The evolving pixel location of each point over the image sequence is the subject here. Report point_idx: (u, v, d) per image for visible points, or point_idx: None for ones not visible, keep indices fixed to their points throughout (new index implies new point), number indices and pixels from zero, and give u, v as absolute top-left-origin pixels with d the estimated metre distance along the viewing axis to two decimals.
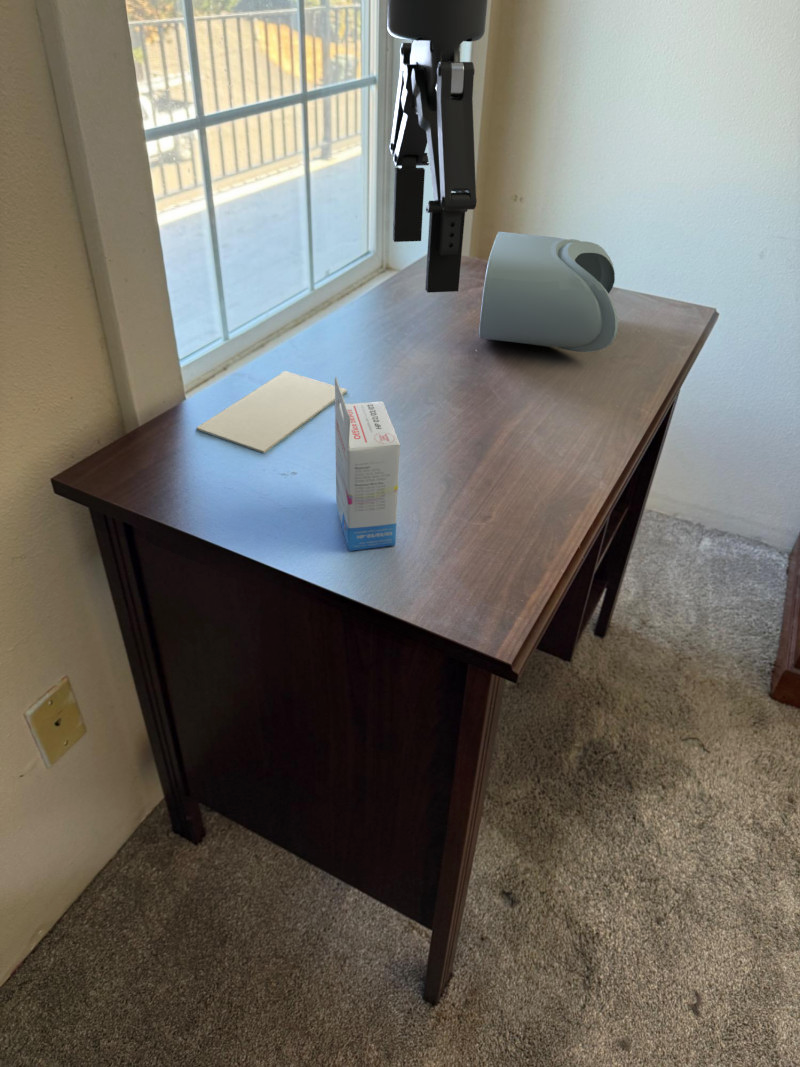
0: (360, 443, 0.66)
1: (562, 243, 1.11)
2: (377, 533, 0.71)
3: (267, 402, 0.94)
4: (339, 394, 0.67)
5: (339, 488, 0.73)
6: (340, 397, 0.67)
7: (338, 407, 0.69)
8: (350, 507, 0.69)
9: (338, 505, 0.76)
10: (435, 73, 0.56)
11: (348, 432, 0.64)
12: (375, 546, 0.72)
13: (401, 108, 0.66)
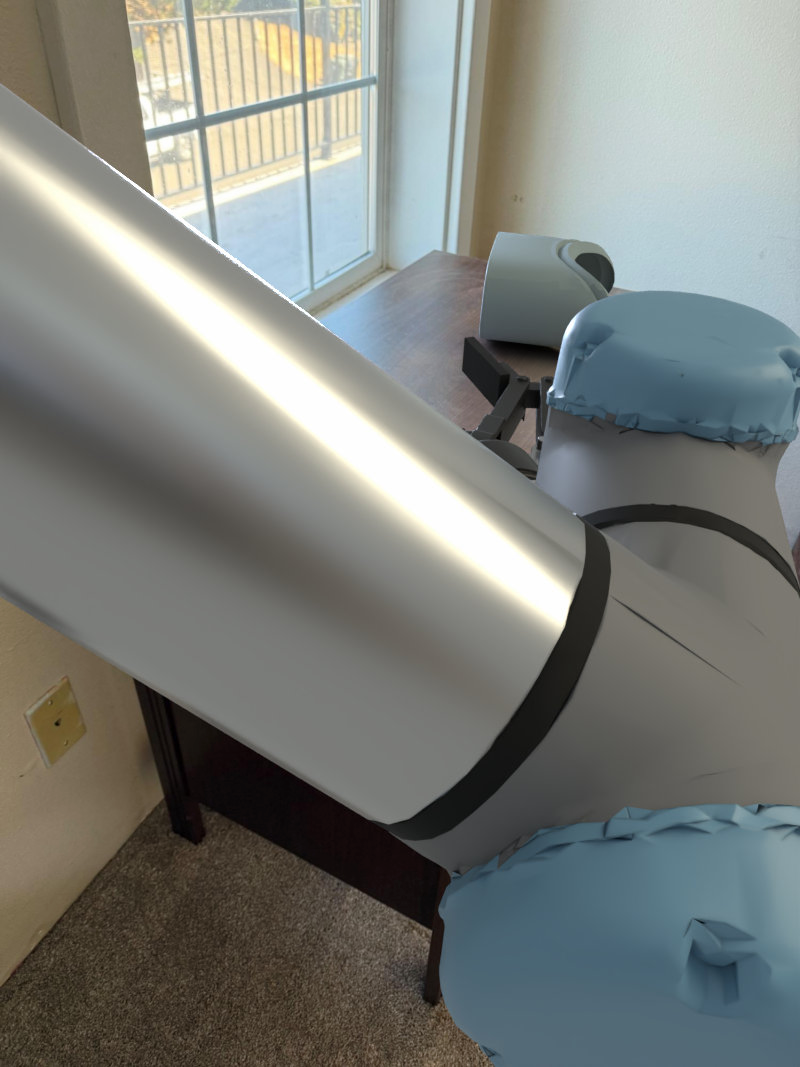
0: None
1: (562, 243, 1.11)
2: None
3: None
4: None
5: None
6: None
7: None
8: None
9: None
10: None
11: None
12: None
13: (540, 413, 0.48)
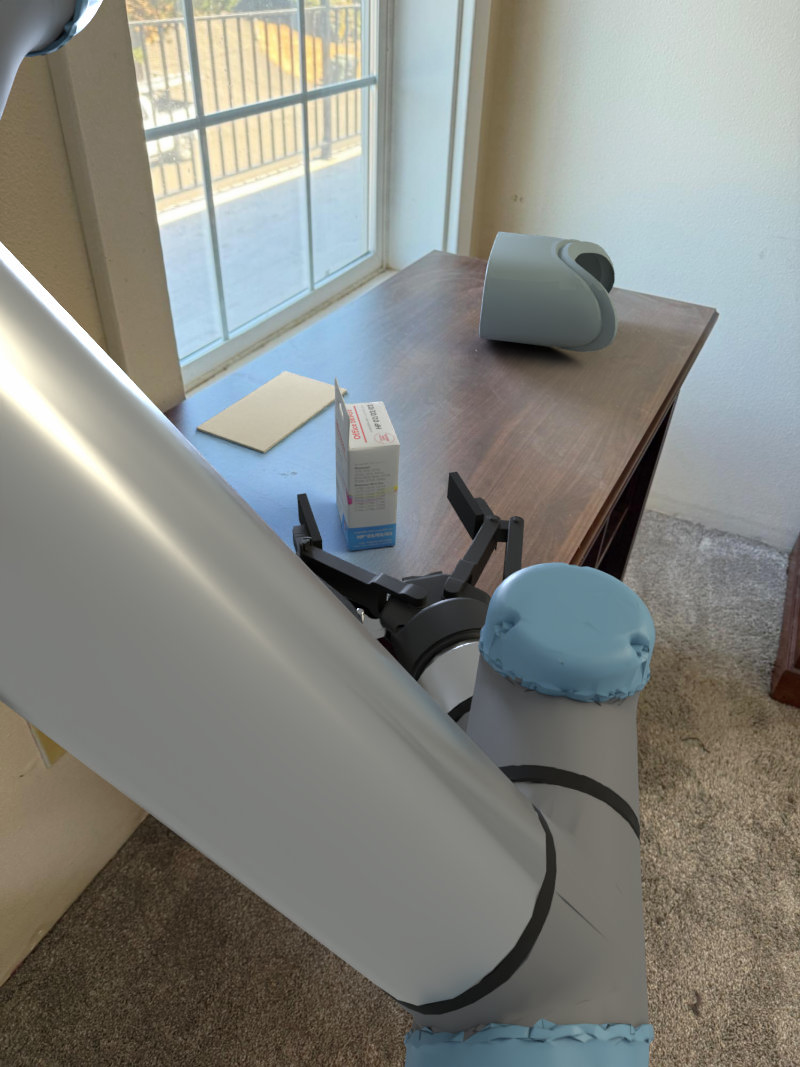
0: (360, 443, 0.66)
1: (562, 243, 1.11)
2: (377, 533, 0.71)
3: (267, 402, 0.94)
4: (339, 394, 0.67)
5: (339, 488, 0.73)
6: (340, 397, 0.67)
7: (338, 407, 0.69)
8: (350, 507, 0.69)
9: (338, 505, 0.76)
10: (382, 616, 0.52)
11: (348, 432, 0.64)
12: (375, 546, 0.72)
13: (506, 555, 0.58)
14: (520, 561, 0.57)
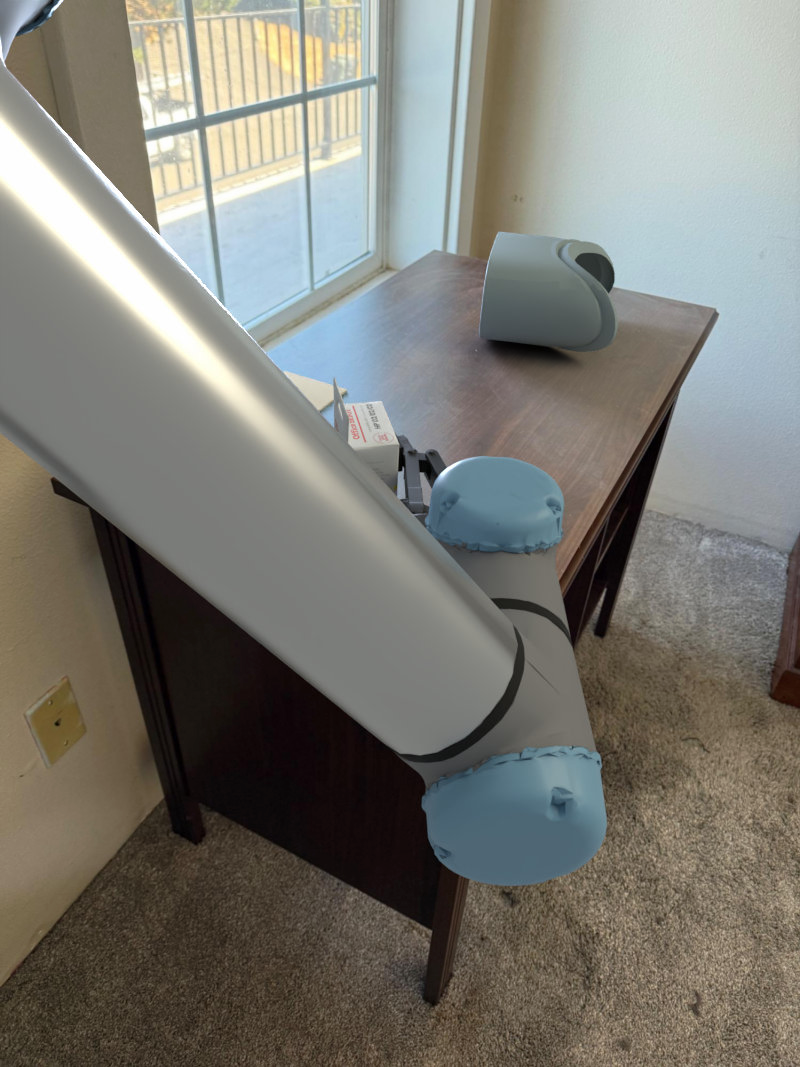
0: (359, 443, 0.66)
1: (562, 243, 1.11)
2: None
3: None
4: (338, 394, 0.67)
5: None
6: (339, 397, 0.67)
7: (337, 407, 0.69)
8: None
9: None
10: None
11: (347, 432, 0.64)
12: None
13: None
14: None
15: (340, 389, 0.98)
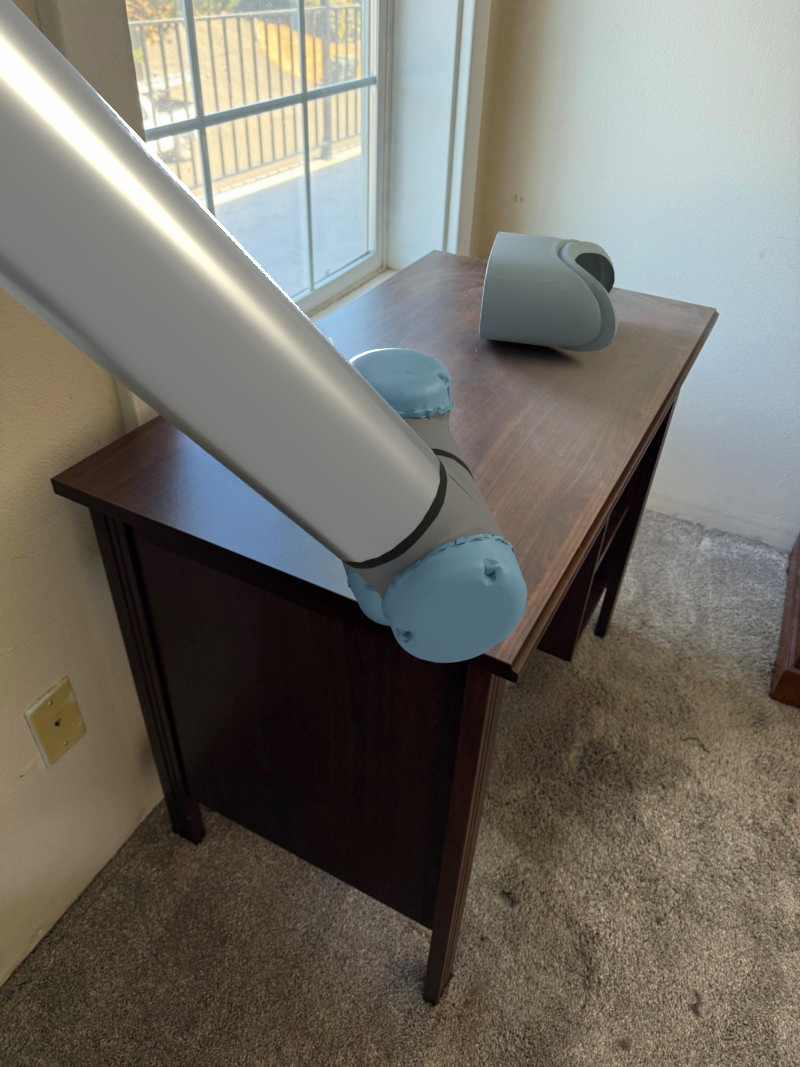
0: None
1: (562, 243, 1.11)
2: None
3: None
4: None
5: None
6: None
7: None
8: None
9: None
10: None
11: None
12: None
13: None
14: None
15: None
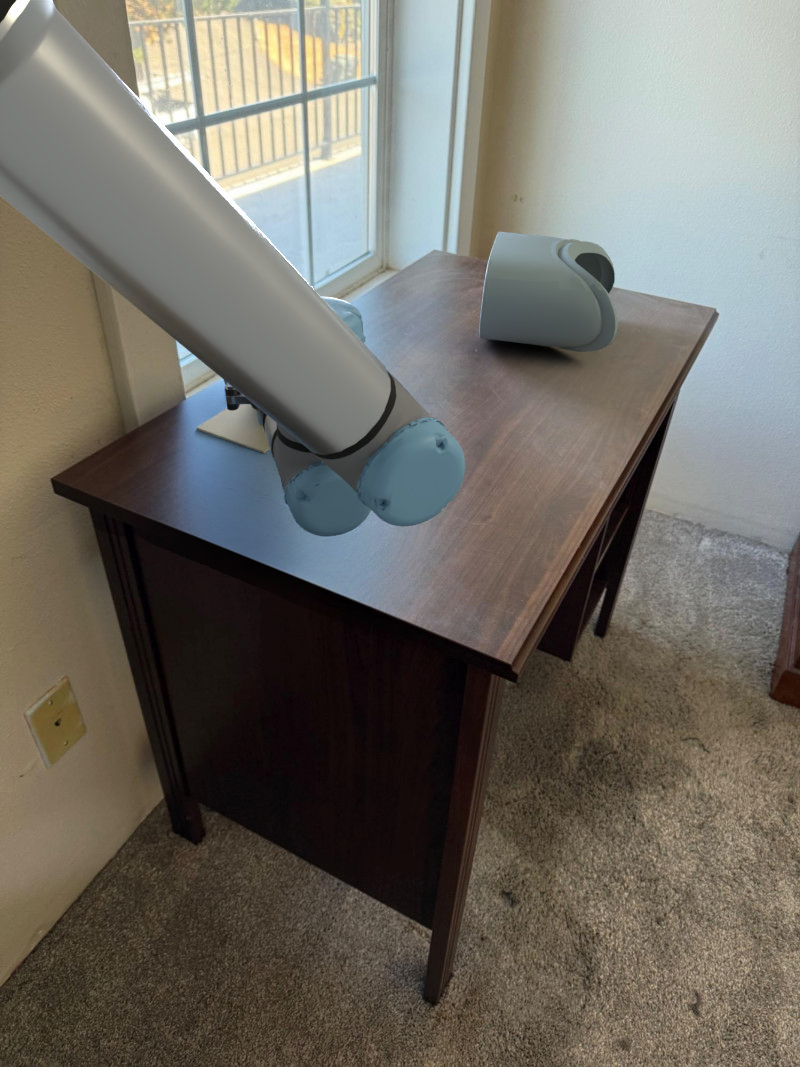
0: None
1: (562, 243, 1.11)
2: None
3: None
4: None
5: None
6: None
7: None
8: None
9: None
10: None
11: None
12: None
13: None
14: None
15: None
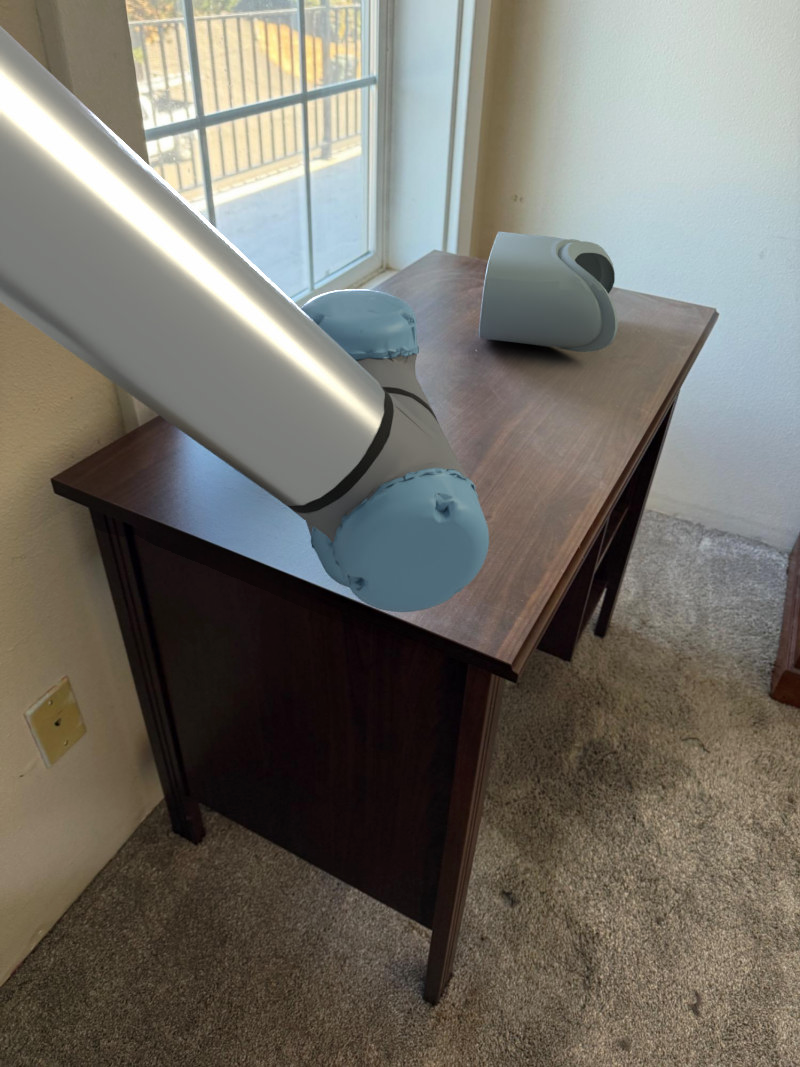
0: None
1: (562, 243, 1.11)
2: None
3: None
4: None
5: None
6: None
7: None
8: None
9: None
10: None
11: None
12: None
13: None
14: None
15: None
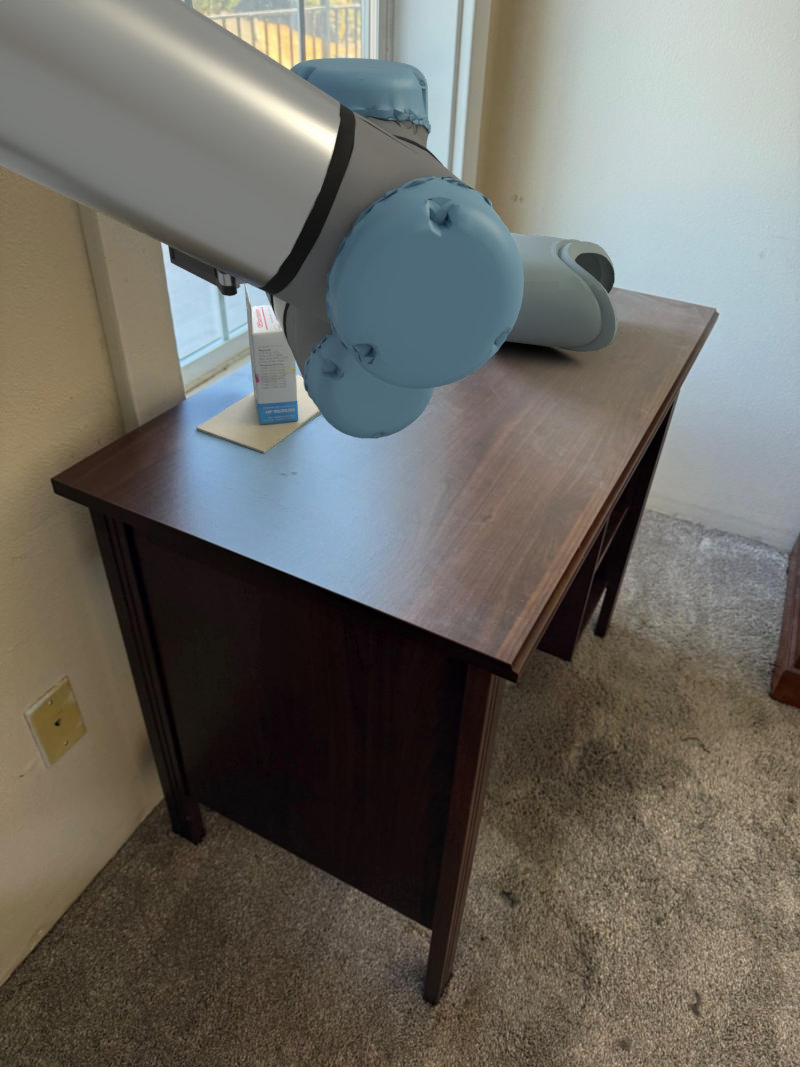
0: (262, 330, 0.83)
1: (562, 243, 1.11)
2: (282, 409, 0.89)
3: None
4: (246, 293, 0.85)
5: (252, 375, 0.91)
6: (246, 294, 0.84)
7: (246, 305, 0.86)
8: (257, 384, 0.86)
9: (254, 393, 0.94)
10: None
11: (251, 319, 0.82)
12: (281, 421, 0.90)
13: None
14: None
15: None
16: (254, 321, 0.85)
